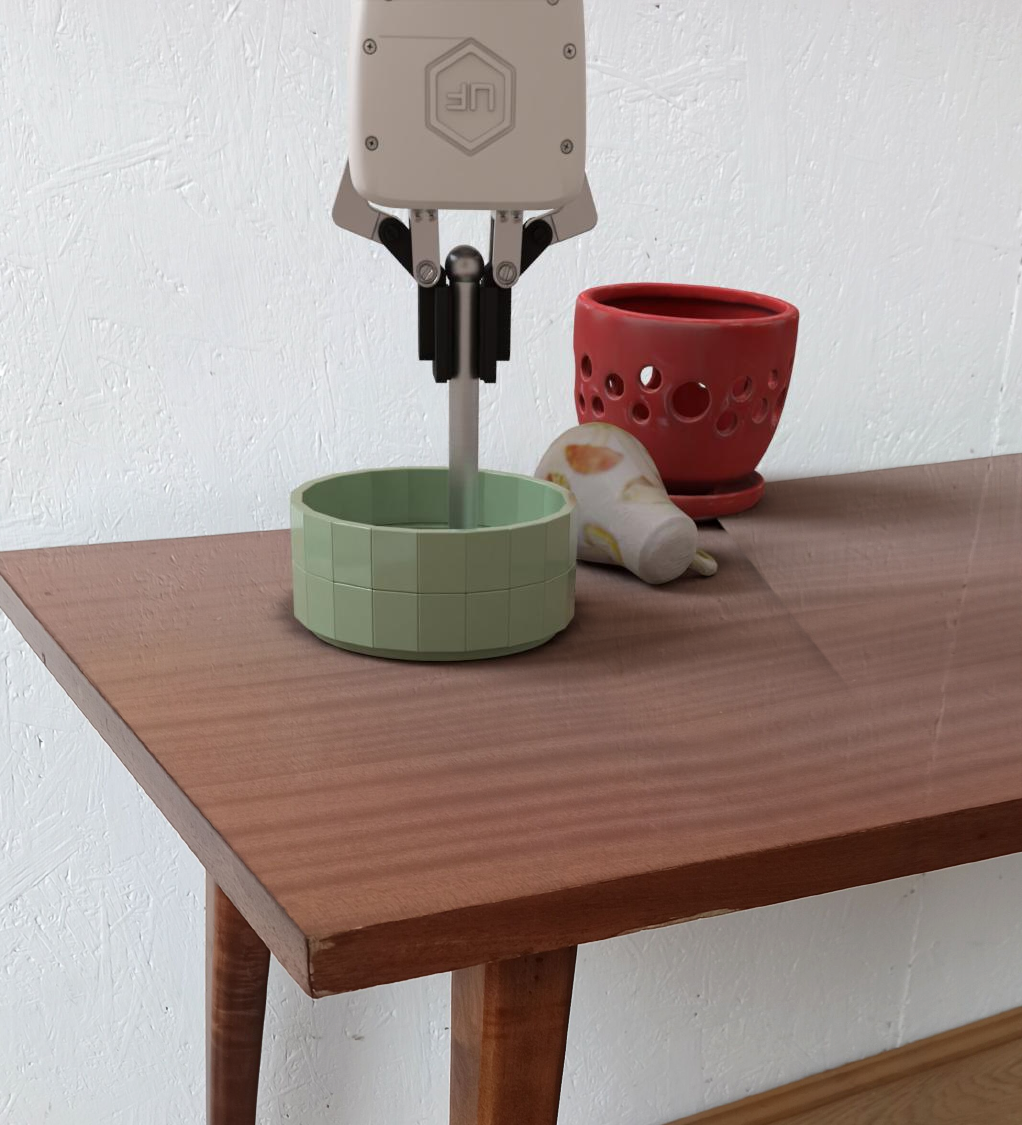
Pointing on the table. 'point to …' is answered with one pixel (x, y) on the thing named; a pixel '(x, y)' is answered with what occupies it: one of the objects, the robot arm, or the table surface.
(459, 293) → the ball topped metal stand
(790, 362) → the flower pot
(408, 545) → the bowl
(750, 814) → the table surface
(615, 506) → the mug
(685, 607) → the table surface
